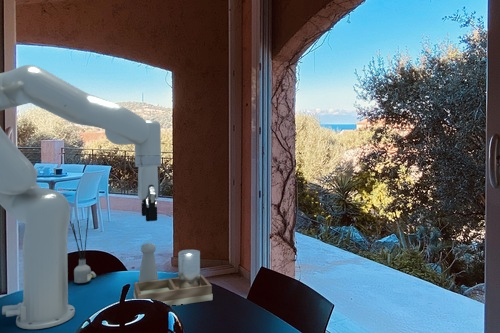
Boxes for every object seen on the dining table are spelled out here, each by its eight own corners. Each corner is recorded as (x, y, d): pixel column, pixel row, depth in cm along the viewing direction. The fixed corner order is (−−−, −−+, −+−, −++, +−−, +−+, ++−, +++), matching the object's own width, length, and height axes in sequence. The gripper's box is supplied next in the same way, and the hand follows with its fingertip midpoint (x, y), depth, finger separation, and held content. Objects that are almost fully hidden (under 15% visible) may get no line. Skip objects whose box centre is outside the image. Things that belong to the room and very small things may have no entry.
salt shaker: (152, 290, 110) (152, 247, 109) (134, 289, 111) (134, 245, 110) (161, 284, 115) (161, 242, 115) (144, 282, 117) (144, 241, 116)
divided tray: (137, 311, 95) (137, 295, 95) (133, 296, 105) (133, 282, 105) (212, 299, 103) (212, 285, 103) (202, 287, 113) (202, 274, 113)
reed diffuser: (81, 288, 111) (81, 221, 111) (60, 287, 112) (59, 221, 112) (99, 277, 121) (99, 216, 121) (80, 276, 122) (79, 215, 122)
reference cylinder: (181, 295, 102) (180, 256, 102) (176, 288, 107) (176, 250, 107) (202, 292, 104) (202, 253, 104) (196, 285, 110) (196, 248, 109)
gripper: (132, 161, 119) (133, 214, 119) (138, 162, 103) (139, 224, 103) (156, 160, 121) (157, 212, 122) (166, 162, 106) (166, 222, 106)
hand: (149, 218), depth 113 cm, fingers open, 9 cm apart
